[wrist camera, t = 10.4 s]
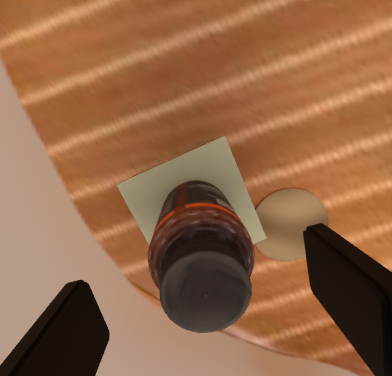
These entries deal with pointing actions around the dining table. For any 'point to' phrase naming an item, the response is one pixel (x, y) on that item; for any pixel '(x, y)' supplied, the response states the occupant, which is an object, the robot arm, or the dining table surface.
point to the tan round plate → (288, 222)
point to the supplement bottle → (201, 258)
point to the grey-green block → (188, 171)
